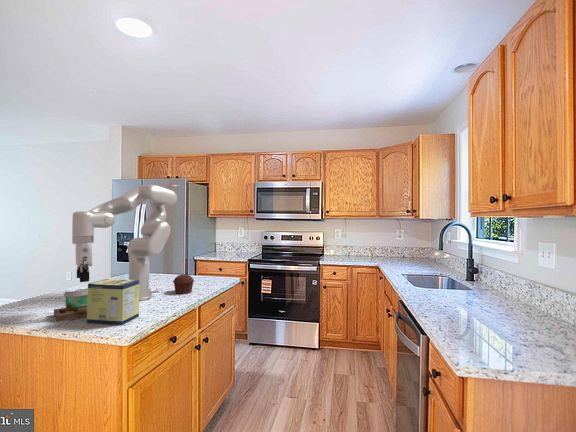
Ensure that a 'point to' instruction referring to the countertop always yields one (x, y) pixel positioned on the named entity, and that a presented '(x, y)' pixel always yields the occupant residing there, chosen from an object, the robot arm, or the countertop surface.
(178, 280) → the muffin
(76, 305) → the food container
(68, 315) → the base plate
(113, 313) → the protein box
